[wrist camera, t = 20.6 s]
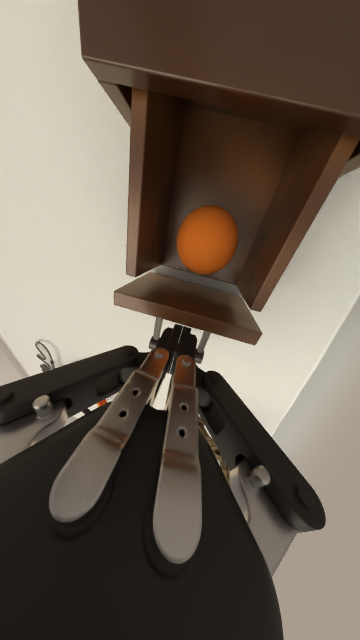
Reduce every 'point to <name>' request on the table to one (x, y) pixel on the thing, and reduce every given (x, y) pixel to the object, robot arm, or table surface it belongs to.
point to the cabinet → (232, 56)
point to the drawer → (220, 205)
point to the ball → (207, 239)
